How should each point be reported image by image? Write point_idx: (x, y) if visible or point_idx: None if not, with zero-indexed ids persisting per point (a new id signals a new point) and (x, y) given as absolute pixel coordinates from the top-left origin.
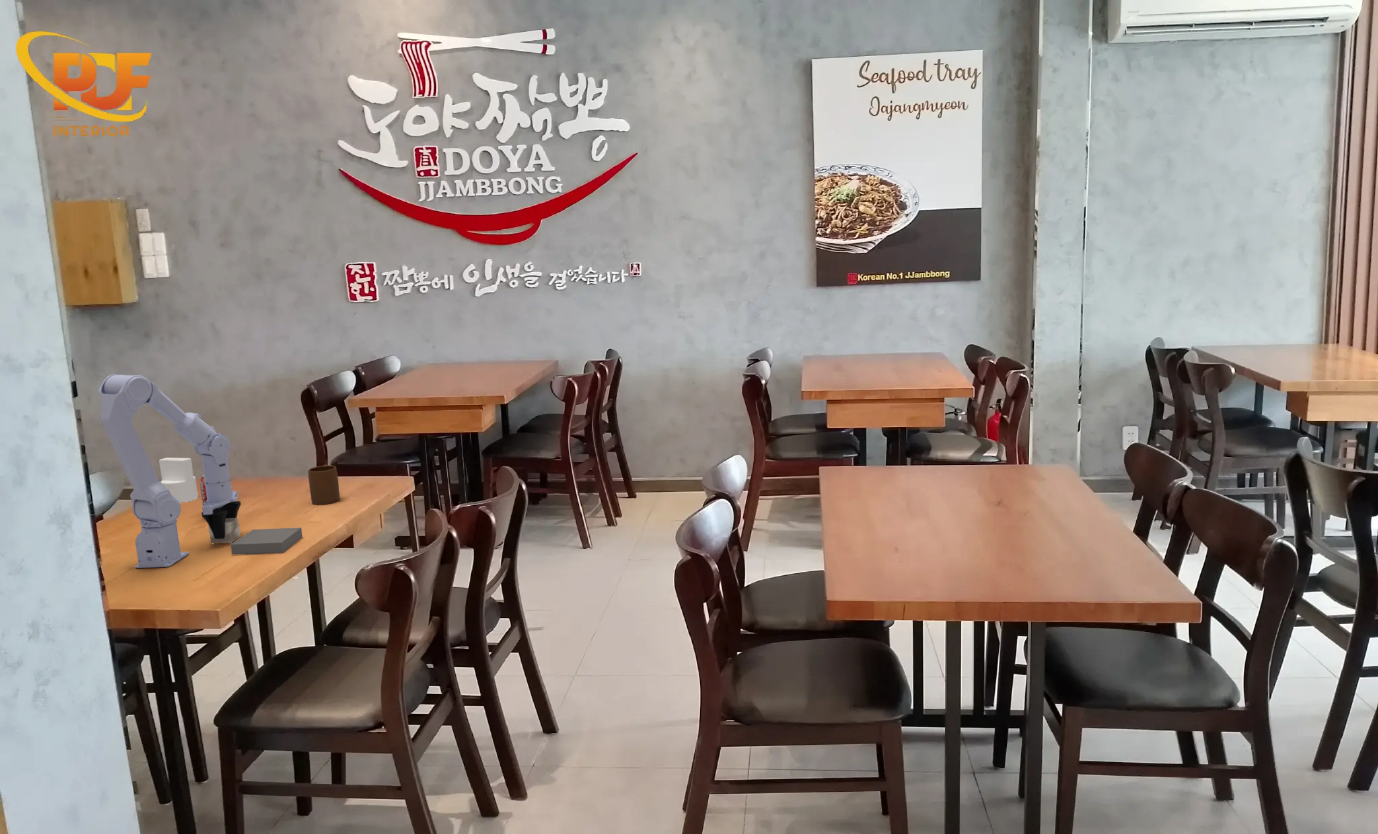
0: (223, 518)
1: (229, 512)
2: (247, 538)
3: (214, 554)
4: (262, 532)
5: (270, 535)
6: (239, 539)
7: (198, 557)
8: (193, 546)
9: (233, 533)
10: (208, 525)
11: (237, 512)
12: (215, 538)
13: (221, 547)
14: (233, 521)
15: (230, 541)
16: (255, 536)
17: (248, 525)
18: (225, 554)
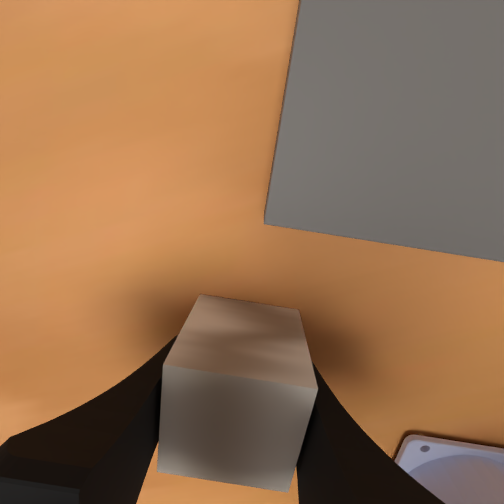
0: (381, 464)
1: (133, 455)
2: (497, 201)
3: (463, 338)
4: (377, 124)
5: None
6: (495, 250)
7: (475, 389)
8: None
9: (265, 327)
10: (286, 486)
11: (100, 399)
12: None
13: (353, 336)
14: (240, 373)
15: (300, 317)
16: (473, 151)
17: (3, 306)
18: (495, 290)
